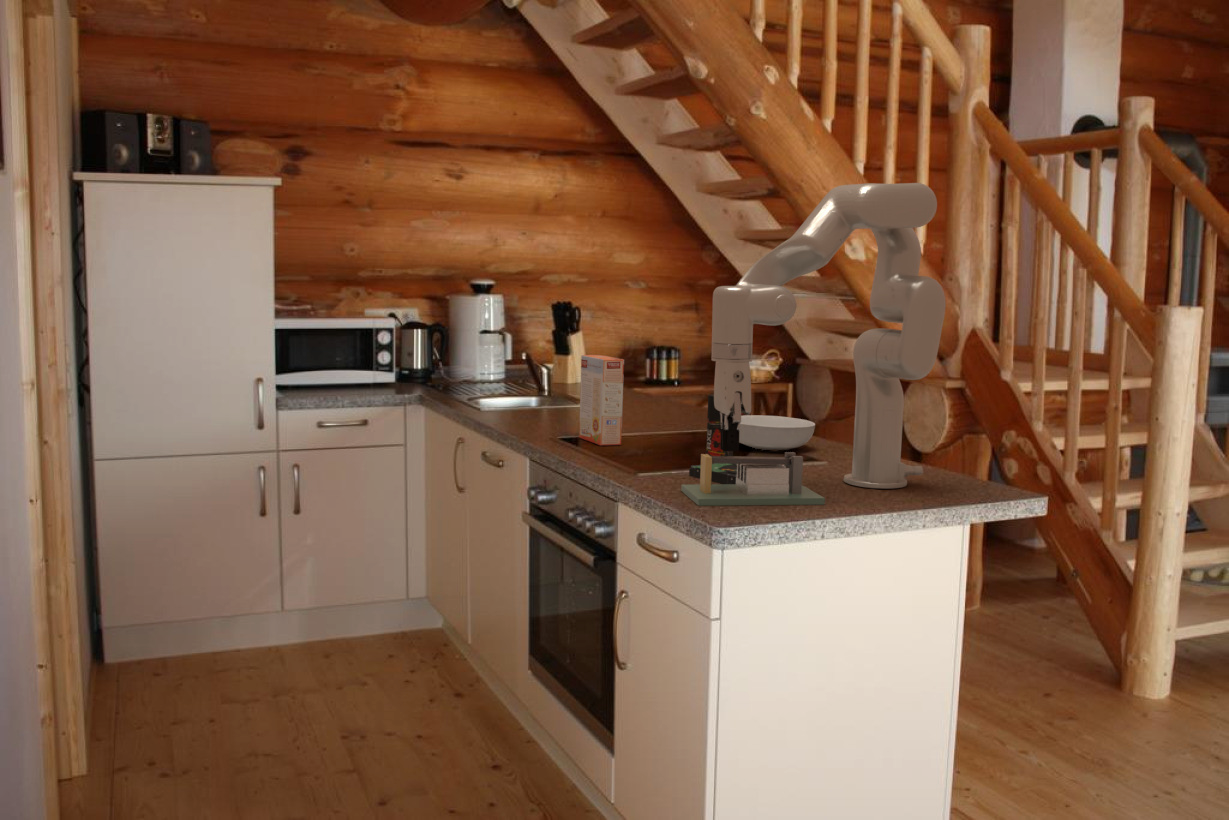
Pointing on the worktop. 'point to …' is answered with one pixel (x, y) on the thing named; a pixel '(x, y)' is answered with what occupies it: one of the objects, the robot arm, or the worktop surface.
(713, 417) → the deodorant
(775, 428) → the serving bowl
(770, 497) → the board
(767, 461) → the strap
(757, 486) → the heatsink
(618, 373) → the cracker box
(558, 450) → the worktop surface
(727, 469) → the disk drive
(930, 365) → the robot arm
